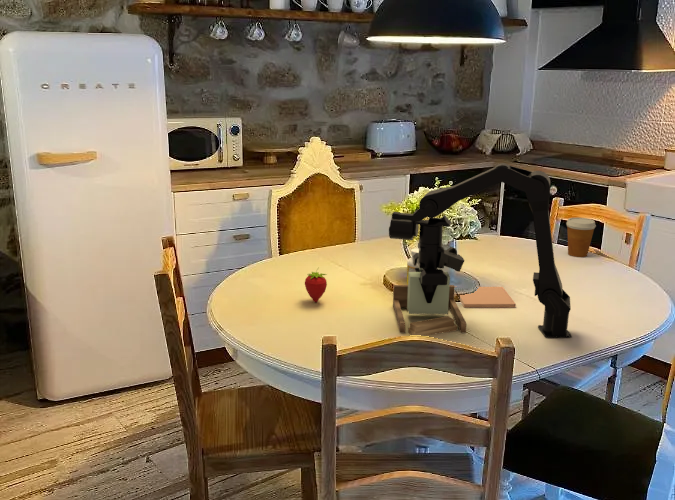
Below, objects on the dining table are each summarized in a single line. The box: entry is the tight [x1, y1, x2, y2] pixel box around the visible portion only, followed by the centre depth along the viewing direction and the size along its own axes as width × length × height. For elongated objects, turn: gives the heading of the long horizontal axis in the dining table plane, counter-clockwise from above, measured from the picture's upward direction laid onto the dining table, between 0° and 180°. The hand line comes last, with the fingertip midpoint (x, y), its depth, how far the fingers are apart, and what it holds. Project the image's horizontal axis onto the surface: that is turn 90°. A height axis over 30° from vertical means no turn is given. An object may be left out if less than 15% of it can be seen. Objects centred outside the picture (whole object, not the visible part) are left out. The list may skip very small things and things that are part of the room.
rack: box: [392, 284, 467, 334], centre depth 173 cm, size 18×16×6 cm
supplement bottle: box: [406, 247, 419, 285], centre depth 190 cm, size 7×7×13 cm
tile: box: [459, 286, 517, 309], centre depth 188 cm, size 14×14×1 cm
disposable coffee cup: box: [566, 217, 597, 258], centre depth 229 cm, size 10×10×12 cm
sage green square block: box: [406, 271, 451, 315], centre depth 173 cm, size 4×10×10 cm, turn 91°
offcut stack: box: [407, 315, 458, 336], centre depth 166 cm, size 4×12×3 cm, turn 111°
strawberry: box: [304, 268, 328, 303], centre depth 183 cm, size 6×8×10 cm
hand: (427, 300), depth 174 cm, fingers closed on sage green square block, 4 cm apart
